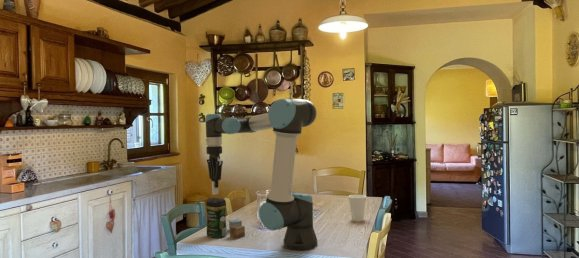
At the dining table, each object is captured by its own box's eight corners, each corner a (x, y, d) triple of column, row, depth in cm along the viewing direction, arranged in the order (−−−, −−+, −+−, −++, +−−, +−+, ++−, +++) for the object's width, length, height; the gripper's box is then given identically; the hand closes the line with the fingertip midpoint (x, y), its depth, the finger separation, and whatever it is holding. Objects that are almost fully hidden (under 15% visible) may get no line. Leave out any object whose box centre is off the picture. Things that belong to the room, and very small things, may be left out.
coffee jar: (203, 236, 194) (202, 198, 193) (215, 232, 200) (214, 195, 200) (218, 239, 188) (217, 200, 188) (229, 235, 195) (228, 197, 194)
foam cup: (369, 219, 219) (369, 195, 218) (360, 222, 212) (359, 198, 212) (355, 216, 225) (354, 194, 225) (345, 220, 218) (345, 196, 218)
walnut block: (244, 236, 192) (244, 226, 192) (237, 239, 188) (237, 228, 188) (237, 234, 195) (237, 224, 195) (230, 237, 192) (229, 227, 191)
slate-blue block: (241, 230, 203) (241, 221, 203) (232, 232, 200) (232, 222, 200) (238, 228, 207) (238, 219, 207) (229, 229, 205) (229, 220, 205)
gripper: (201, 145, 196) (202, 193, 197) (213, 146, 186) (214, 197, 186) (215, 144, 201) (216, 191, 201) (227, 145, 190) (228, 195, 191)
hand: (215, 194), depth 194 cm, fingers closed
